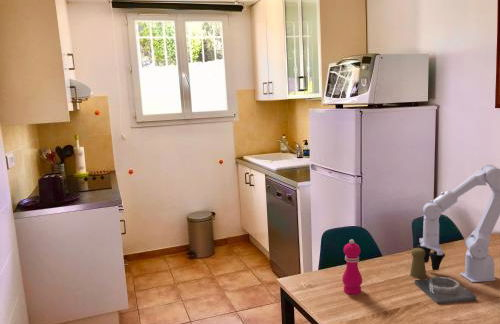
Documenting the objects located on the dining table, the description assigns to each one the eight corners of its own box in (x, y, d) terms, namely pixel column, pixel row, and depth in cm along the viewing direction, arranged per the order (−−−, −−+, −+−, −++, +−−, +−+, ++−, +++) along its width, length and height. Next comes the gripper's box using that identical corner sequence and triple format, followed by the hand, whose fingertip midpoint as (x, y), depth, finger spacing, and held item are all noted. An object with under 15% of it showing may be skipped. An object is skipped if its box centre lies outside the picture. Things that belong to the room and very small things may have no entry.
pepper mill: (363, 287, 151) (362, 236, 148) (361, 296, 144) (361, 243, 142) (343, 285, 153) (342, 235, 151) (341, 294, 147) (340, 242, 144)
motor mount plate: (449, 280, 153) (449, 272, 153) (476, 300, 138) (476, 290, 137) (414, 283, 152) (414, 274, 152) (437, 303, 137) (437, 294, 136)
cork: (428, 278, 156) (428, 251, 155) (411, 278, 157) (411, 251, 156) (424, 272, 162) (424, 246, 161) (408, 271, 163) (409, 246, 162)
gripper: (412, 228, 165) (412, 259, 167) (430, 239, 150) (430, 274, 152) (428, 227, 165) (428, 258, 167) (448, 238, 151) (447, 272, 153)
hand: (430, 266), depth 160 cm, fingers open, 7 cm apart
